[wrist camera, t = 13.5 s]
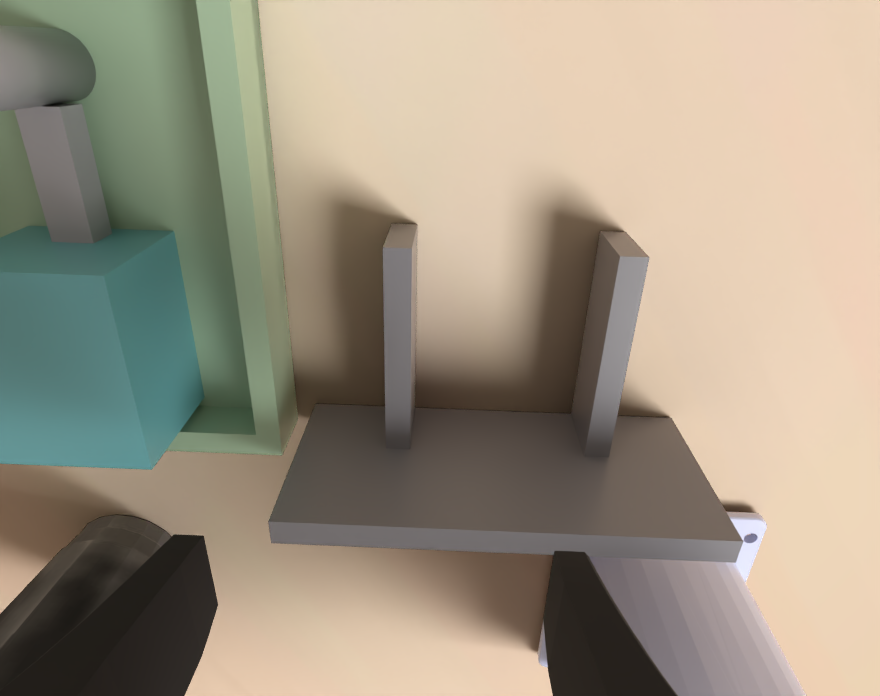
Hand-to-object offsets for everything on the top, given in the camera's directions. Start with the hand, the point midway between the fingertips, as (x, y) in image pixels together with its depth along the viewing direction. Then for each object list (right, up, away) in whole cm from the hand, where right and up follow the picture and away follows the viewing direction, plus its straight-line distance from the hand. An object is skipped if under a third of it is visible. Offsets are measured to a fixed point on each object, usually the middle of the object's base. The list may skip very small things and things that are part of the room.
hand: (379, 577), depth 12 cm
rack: (+3, +5, +8) cm, 10 cm away
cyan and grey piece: (-9, +8, +6) cm, 14 cm away
